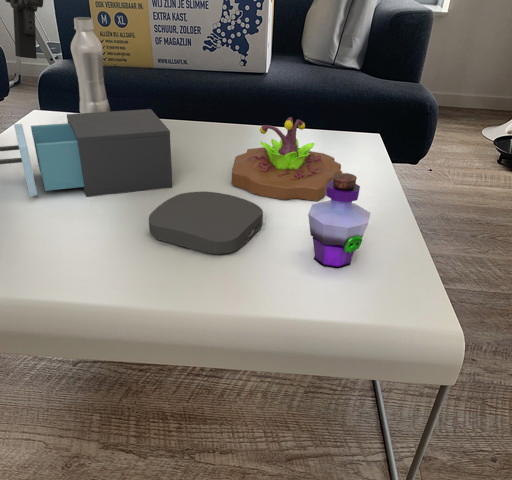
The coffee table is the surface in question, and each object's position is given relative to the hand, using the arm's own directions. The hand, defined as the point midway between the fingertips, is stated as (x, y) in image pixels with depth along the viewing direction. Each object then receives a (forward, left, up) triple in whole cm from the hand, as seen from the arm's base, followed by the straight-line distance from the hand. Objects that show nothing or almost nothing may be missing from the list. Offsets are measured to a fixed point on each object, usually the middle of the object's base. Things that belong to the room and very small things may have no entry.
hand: (26, 57), depth 87 cm
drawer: (0, -8, -17) cm, 19 cm away
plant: (+40, -16, -18) cm, 47 cm away
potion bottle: (+34, -45, -18) cm, 59 cm away
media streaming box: (+20, -31, -18) cm, 41 cm away
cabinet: (+12, -8, -18) cm, 23 cm away
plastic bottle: (+13, +25, -18) cm, 34 cm away
